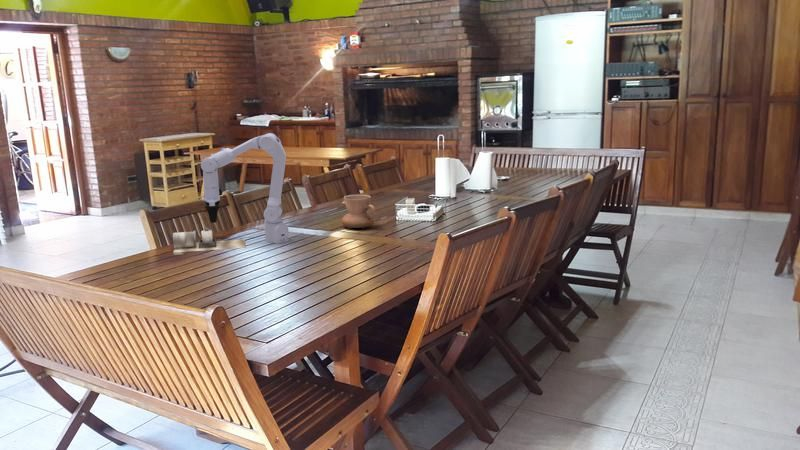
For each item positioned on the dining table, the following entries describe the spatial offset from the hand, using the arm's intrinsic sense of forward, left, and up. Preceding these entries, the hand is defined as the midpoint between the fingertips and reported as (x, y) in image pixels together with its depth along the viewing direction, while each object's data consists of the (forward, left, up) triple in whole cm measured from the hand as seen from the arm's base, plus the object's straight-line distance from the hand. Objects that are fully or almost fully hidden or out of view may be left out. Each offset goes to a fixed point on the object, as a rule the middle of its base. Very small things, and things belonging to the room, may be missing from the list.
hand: (213, 220), depth 257 cm
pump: (-5, +7, -8) cm, 12 cm away
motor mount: (-6, +5, -9) cm, 12 cm away
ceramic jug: (-26, -58, -10) cm, 64 cm away
